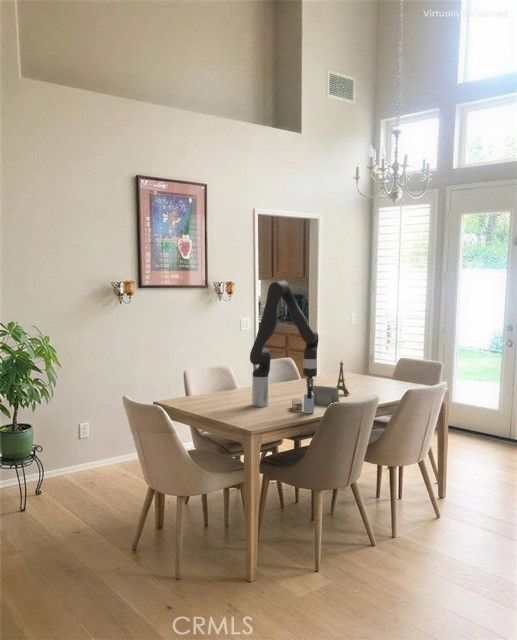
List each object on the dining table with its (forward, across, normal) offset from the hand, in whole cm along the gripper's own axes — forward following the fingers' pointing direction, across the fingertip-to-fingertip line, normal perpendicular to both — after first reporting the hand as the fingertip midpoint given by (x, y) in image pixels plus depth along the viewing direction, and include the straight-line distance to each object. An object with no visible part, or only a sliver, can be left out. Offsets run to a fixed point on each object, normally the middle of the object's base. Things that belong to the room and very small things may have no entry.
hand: (309, 398), depth 302 cm
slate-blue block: (+8, -3, 0) cm, 9 cm away
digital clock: (+9, -28, +12) cm, 31 cm away
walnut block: (+6, -6, -6) cm, 10 cm away
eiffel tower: (+8, -56, +25) cm, 61 cm away
